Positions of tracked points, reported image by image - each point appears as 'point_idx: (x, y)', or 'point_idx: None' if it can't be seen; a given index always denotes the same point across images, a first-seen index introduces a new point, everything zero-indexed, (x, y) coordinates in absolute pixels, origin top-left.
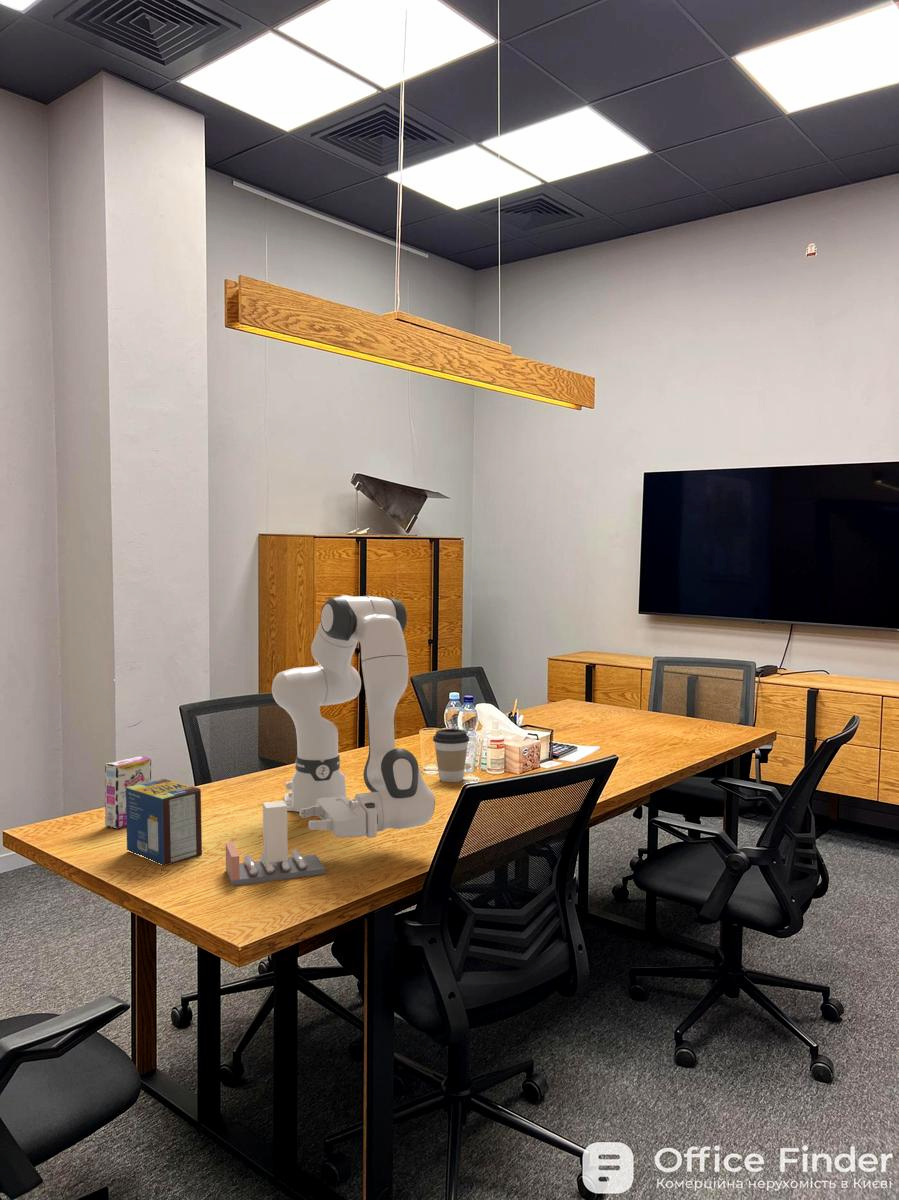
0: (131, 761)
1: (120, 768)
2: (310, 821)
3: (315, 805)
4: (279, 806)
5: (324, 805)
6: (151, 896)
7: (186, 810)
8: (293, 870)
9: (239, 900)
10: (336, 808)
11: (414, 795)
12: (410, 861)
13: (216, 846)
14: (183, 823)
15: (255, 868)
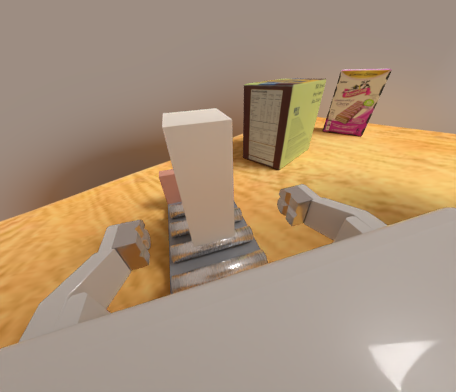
0: (364, 69)
1: (344, 74)
2: (118, 224)
3: (371, 216)
4: (165, 121)
5: (341, 251)
6: (168, 164)
7: (268, 110)
8: (182, 269)
9: (113, 217)
10: (279, 381)
11: None
12: None
13: (309, 174)
14: (262, 125)
15: (169, 208)
